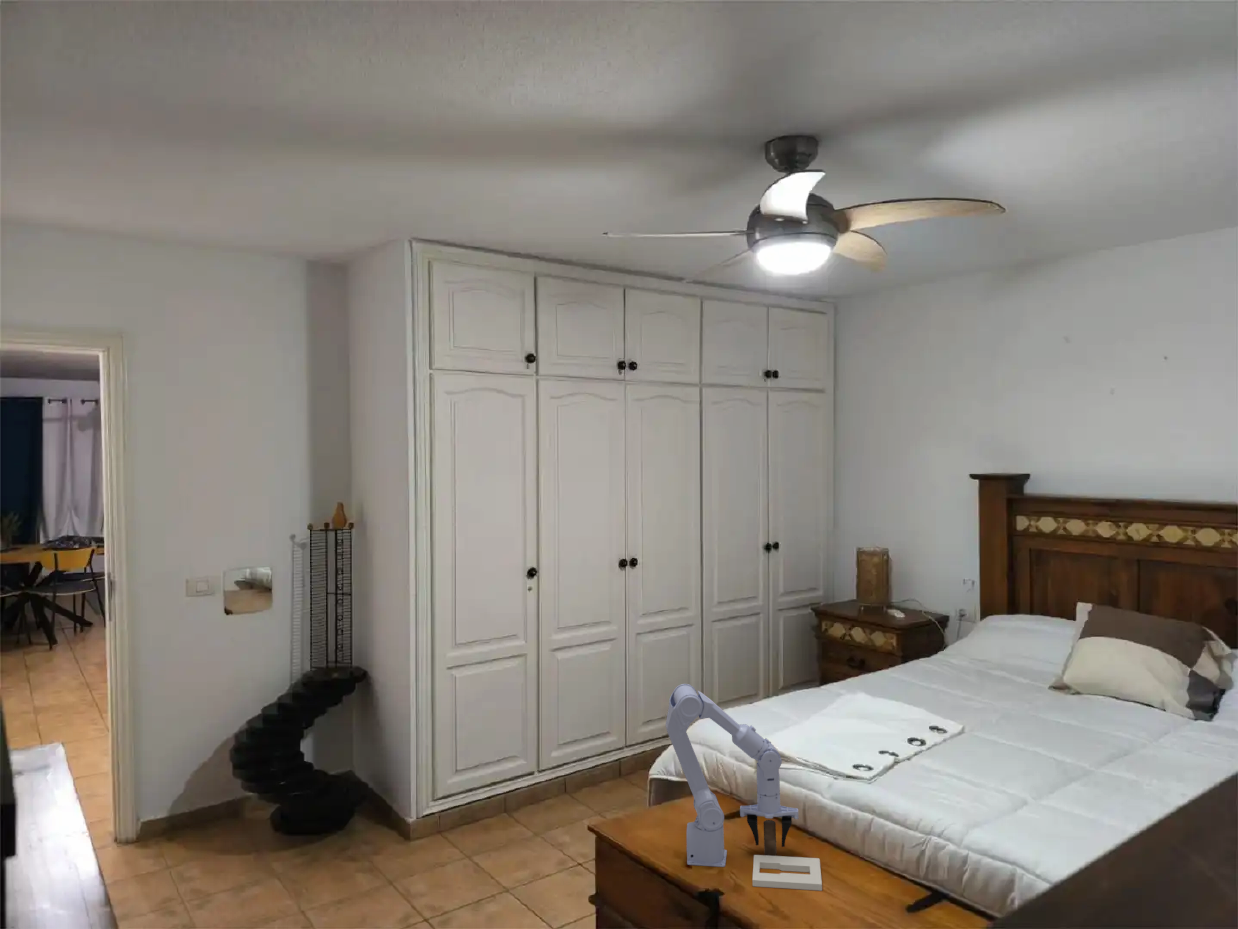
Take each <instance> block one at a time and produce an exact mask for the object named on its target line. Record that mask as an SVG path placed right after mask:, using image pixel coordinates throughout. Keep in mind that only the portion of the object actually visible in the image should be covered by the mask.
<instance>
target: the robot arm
mask: <svg viewBox="0 0 1238 929" xmlns="http://www.w3.org/2000/svg"><path fill="white" fill-rule="evenodd" d="M698 717H699V719H700V720H704V719H710V720H711V721H713V722H714V723H716V724H717V725H718V726H720V727H721V729H723V730H725V731H726V732H727V733H728V734H730V735H731V741H732V743H733V744H734V745H735V746H736V747H738V748H739V749H740V750H741V751H743V753H745V754H746V755H747V756H748V757H749V758H751V759H753V760H755V761H756V796H757V797H756V799H757V803H756V804H750V805H740V806H739V807H740V808H739V814H740V817H742V818H743V817H745V816H746V821H747V822H746V823H747V824H748V826H749V828H750V830H751V833H752V835H753V838H754V843H755V846H759V843H760V842H759V840H760V836H759V829H758V827H759V826H758V824H759V823H758V817H764V818H765V819H774V818H781V847H782V848H783V847H784V848H785V846H786V840H787V835H788V832H789V830H790V828H791V826H792V824H793V823H792V821H793V820H792V818H793V819H794V820H799V807H798V808H796V807H790V806H784V805H781V784H780V768H781V766H782V764H783V759H782V758H781V754H780V753H779V751H778V749H777V748H776V747H775V746H774V744H772V742H771V741H770V740H769V739H768V738H766V737H765V738H764V737H762V736H761V735H760V734H759V733H758V732H756V731H757V729H756V728H755V727H754V726H753V724H751V725H748V723H747V724H746V723H743V724H742V723H741V724H739V723H738V722H736V721H735V719H734V718H733V717H731V716H730V715H729V714H728V713H727V712H725V710H723V708H721V707H720V706H719V705H718V704H716V703H715V702H714V701H713V700H712V699H711V698H709V697H708V696H706V694H704V692H701V691H700V690H696V689H695V687H694V686H692V685H691V684H688V683H682V684H679V685H677V686H676V687H675V688H674V690H673V691H672V693H671V695H670V697H669V699H668V710H667V715H666V720H665V729H666V732H667V735H668V738H669V739H670V741H671V745H672V747H673V750H674V752H675V754H676V756H677V759H678V762H679V765H680V767H681V769H682V772H683V774H684V776H685V779H686V781H687V784H688V786H689V788H690V791H691V794H692V797H693V807H694V809H695V811H696V817H695V820H694V821H691V822H687V825H686V864H687V866H688V865H689V866H698V867H699V866H700V867H701V866H704V867H718V868H720V867H721V868H725V867H726V863H727V853H728V850H727V849H725V839H724V838H725V837H724V836H725V834H724V833H725V832H724V831H725V830H724V821H725V814H724V811H723V810H722V808H721V806H720V804H719V800H718V797H717V796H716V794H715V793H713V792H712V791H711V789H710V788H709V785H708V783H707V782H708V781H707V780H706V778H705V775H704V773H703V771H702V767H701V765H700V762H699V761H698V760H699V759H698V757H697V755H696V753H695V750H694V748H693V746H692V743H691V740H690V739H689V738H690V737H689V735H688V732H687V731H688V729H689V727H690V725H691V723H693V722H694V721H695V720H696V719H697V718H698Z"/></svg>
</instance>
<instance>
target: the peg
mask: <svg viewBox="0 0 1238 929" xmlns="http://www.w3.org/2000/svg"><path fill="white" fill-rule="evenodd" d="M776 826H777V825H776V821H774V820H772V819H766V820H764V821H763V843H764V845H763V846H764V849H763V850H764V855H768V856H777V835H776V834H777V830H776V828H777V827H776Z"/></svg>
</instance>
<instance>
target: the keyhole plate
mask: <svg viewBox="0 0 1238 929" xmlns="http://www.w3.org/2000/svg"><path fill="white" fill-rule="evenodd" d="M752 867H753V868H752V887H758V888H774V889H775V888H776V889H789V890H790V889H792V890H803V891H804V890H805V891H820V892H821V891H822V892H823V884H822V883H823V881H822V873H821V872H822V871H821V860H820V858H818V857H802V856H786V855H785V856H782V855H776V856H768V855H765V854H753V866H752ZM761 869H770V870H780V871H781V872H780V873H768V872H760V870H761ZM782 871H783V872H782ZM789 872H791V873H789ZM792 872H794V873H792ZM795 872H798V873H795ZM800 872H801V873H800ZM804 873H805V874H804Z"/></svg>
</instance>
